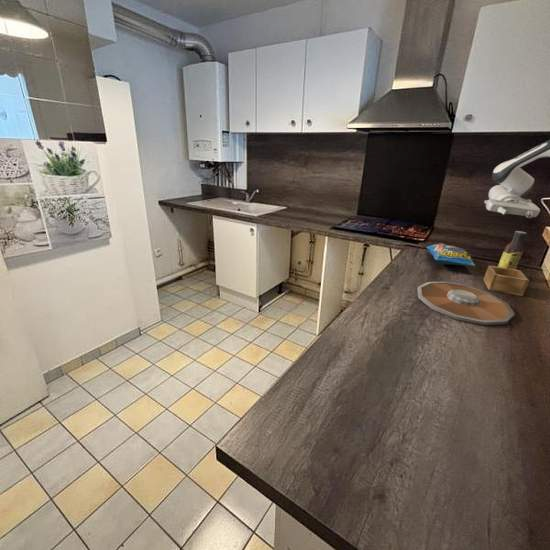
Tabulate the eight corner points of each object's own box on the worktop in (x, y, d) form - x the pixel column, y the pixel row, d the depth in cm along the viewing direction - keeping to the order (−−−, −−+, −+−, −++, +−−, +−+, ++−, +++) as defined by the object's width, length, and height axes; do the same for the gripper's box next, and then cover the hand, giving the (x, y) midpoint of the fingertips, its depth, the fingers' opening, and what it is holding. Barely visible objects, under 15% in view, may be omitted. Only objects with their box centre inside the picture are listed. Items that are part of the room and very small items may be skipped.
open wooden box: (514, 285, 120) (520, 270, 117) (522, 296, 111) (529, 280, 108) (483, 279, 124) (488, 265, 121) (488, 289, 115) (494, 274, 112)
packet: (432, 269, 132) (437, 251, 129) (424, 253, 153) (428, 237, 149) (474, 275, 128) (481, 257, 124) (460, 258, 148) (466, 242, 145)
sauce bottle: (504, 278, 126) (522, 234, 118) (491, 273, 131) (507, 230, 123) (515, 277, 128) (534, 233, 120) (502, 272, 133) (518, 229, 125)
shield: (427, 270, 122) (516, 292, 106) (425, 277, 123) (513, 300, 107) (408, 296, 100) (517, 329, 84) (406, 304, 101) (513, 338, 85)
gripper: (486, 193, 139) (495, 204, 128) (534, 200, 135) (548, 211, 124) (479, 206, 142) (488, 217, 131) (527, 212, 138) (539, 225, 127)
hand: (518, 214), depth 128 cm, fingers open, 8 cm apart
